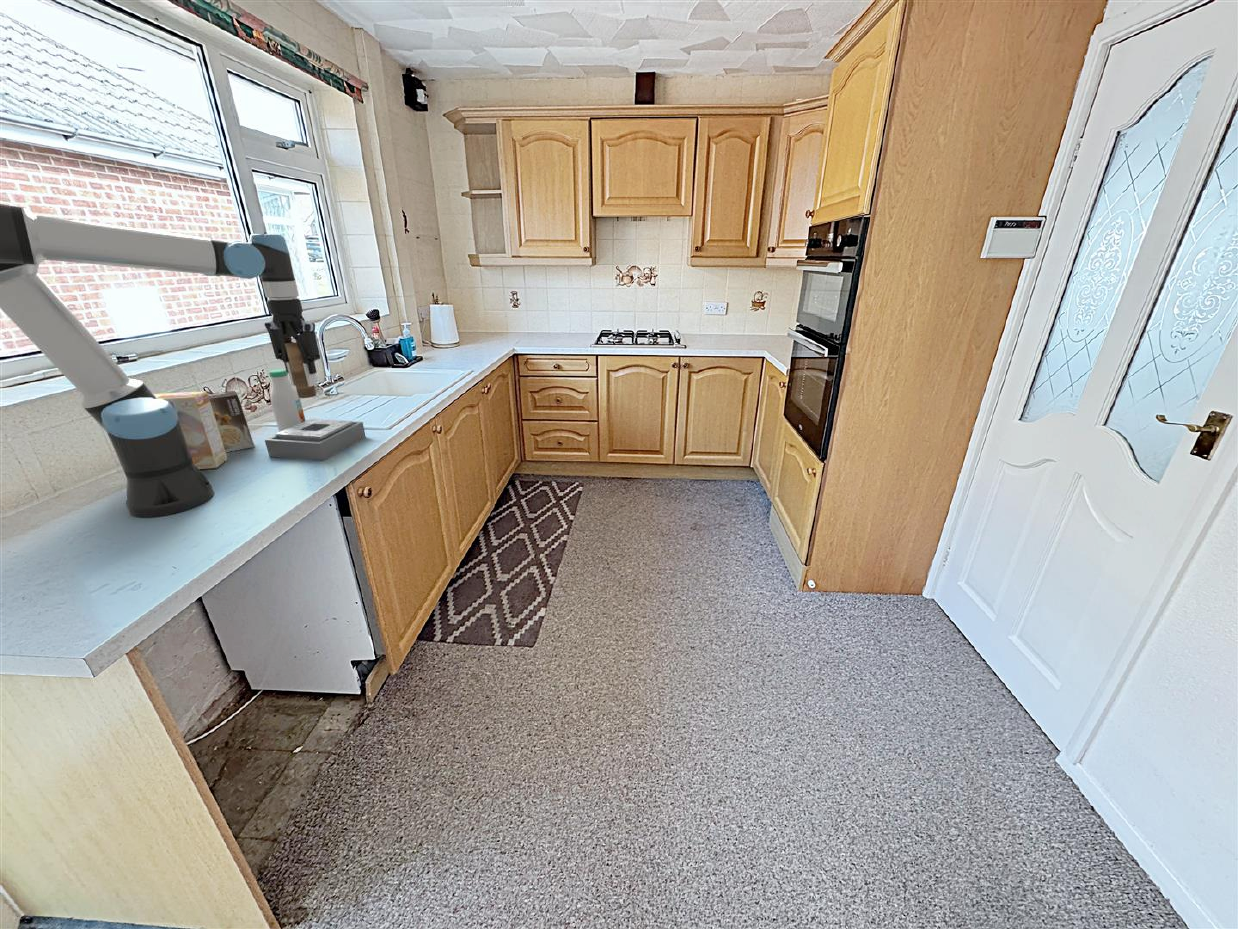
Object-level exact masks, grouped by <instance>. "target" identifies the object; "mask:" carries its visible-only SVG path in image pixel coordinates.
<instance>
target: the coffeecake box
mask: <svg viewBox="0 0 1238 929" xmlns="http://www.w3.org/2000/svg"><path fill="white" fill-rule="evenodd" d="M152 394H153V395H154V396H155V397H156V398H159V399H163V400H166V401H168V402H169V403H170V404H171V405H172V406H173V408H174V410H175V411H176V412H177V415H178V421H179V424H180V427H181V430H182V432H183V435H184V438H185V441H186V443H187V446H188V449H189V451H190V454H191V457H192V460H193V463H194V465H195V466H196V467H197V468H198V469H199V470H205V469H207V470H208V469H216V468H218V467H219V466H221V465H222V464H224V463H225V462H226V461H227V460H228V457H227V456H228V455H227V453H226V452H225V449H224V446H223V442H222V439H221V436H220V433H219V429H218V426H217V423H216V419H215V416H214V413H213V410H212V406H211V403H210V400H209V397H208V394H209V393H208V391H207V390H204V391H189V392H188V391H187V392H170V393H169V392H166V393H152ZM224 461H225V462H224Z"/></svg>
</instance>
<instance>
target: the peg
mask: <svg viewBox="0 0 1238 929" xmlns="http://www.w3.org/2000/svg"><path fill="white" fill-rule="evenodd" d="M285 347H286V351H287V355H288V359H289V362H290V366H291V370H292V374H293V378H294V382H295V386H294V387H295V390H296V391H297V393H298V397H299V398H300V399H309V398H314V397H317V395H318V394H317V390H316V387H315V386H316V385H314V386H311V387H309V386H308V383H307V379H306V375H305V371H304V367H303V362H304V361H305V360H304V358H303V356H302V354H301V351H300V349H299V347H298V344H297V342H296V340H295V341H292V342H288V343H285Z"/></svg>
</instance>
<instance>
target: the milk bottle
mask: <svg viewBox="0 0 1238 929" xmlns="http://www.w3.org/2000/svg"><path fill="white" fill-rule="evenodd" d="M268 375H269V378H270V379H271V383H272V384H271V389H270V394H269V396H270V403H271V407H272V411H273V415H274V418H275V423H276V426H277V430H278V432H281V431H283V430H285V429H288V428H290V427H292V426H295V425H297V424H299V423H302V422H304V421H306V417H305V413H304V409H303V405H302V402H301V398H299V397H298V393H297V390H296V387H295V386H292V384H291V381H290V379H289V376H288V375H289V373H287V371H286V368H285V369H284V368H280V369H279V368H277V369H271V370H269V372H268Z"/></svg>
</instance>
